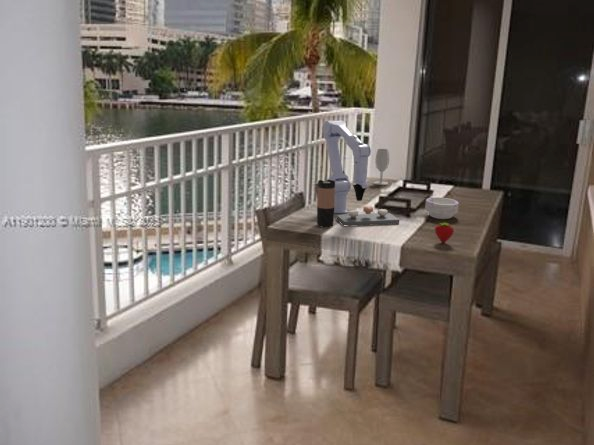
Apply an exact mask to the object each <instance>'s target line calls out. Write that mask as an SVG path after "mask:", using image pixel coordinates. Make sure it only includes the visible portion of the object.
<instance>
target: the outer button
mask: <svg viewBox="0 0 594 445" xmlns="http://www.w3.org/2000/svg"><path fill="white" fill-rule="evenodd" d="M377 213H378V214H379V215H380V216H381V217H385V215H387V213H388V209H383V208H380V209H378V210H377Z"/></svg>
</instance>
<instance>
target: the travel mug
mask: <svg viewBox="0 0 594 445" xmlns="http://www.w3.org/2000/svg"><path fill="white" fill-rule="evenodd" d="M335 181H336V180H334V181H333V180H328V179H326V180H323V179H322V180H320V179H319V180H318V181H317V200H316V201H317V203H316V204H317V205H316V210H317V211H316V220H317V221H316V224H317V226H318V225H319V226H322V227H321V228H331V227H330V226H332V227H333V226H334V221H335V220H334V219H335V213H334V205H335ZM319 226H318V227H319Z"/></svg>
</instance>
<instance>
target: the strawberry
mask: <svg viewBox="0 0 594 445" xmlns="http://www.w3.org/2000/svg"><path fill="white" fill-rule="evenodd" d="M451 225H452V224H451V223H448V222H445V220H443V221H442V222H438V224H437V225H436V226H435V228H434V231H435V232H434V233H435V235H436V236H437V238H438V239H439V241H440V242H441V243H443V244H445V243H446V242H447V241H448V240H449V239H450V238H451V237H452V236H453V234H454V228H453V227H452V226H451Z"/></svg>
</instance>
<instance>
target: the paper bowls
mask: <svg viewBox="0 0 594 445" xmlns="http://www.w3.org/2000/svg"><path fill="white" fill-rule="evenodd" d="M459 204H460V203H459V201H458V200H456V199H453V198H447V197H434V196H433V197H428V198H426V199H425V207H424V208H425V209H424V210H425V211H426V212H428V214H429V216H430V217H432V218H433V219H438V220H448V219H451V218H452V217H454V215H455V214H457V213H458V212H459Z"/></svg>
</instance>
